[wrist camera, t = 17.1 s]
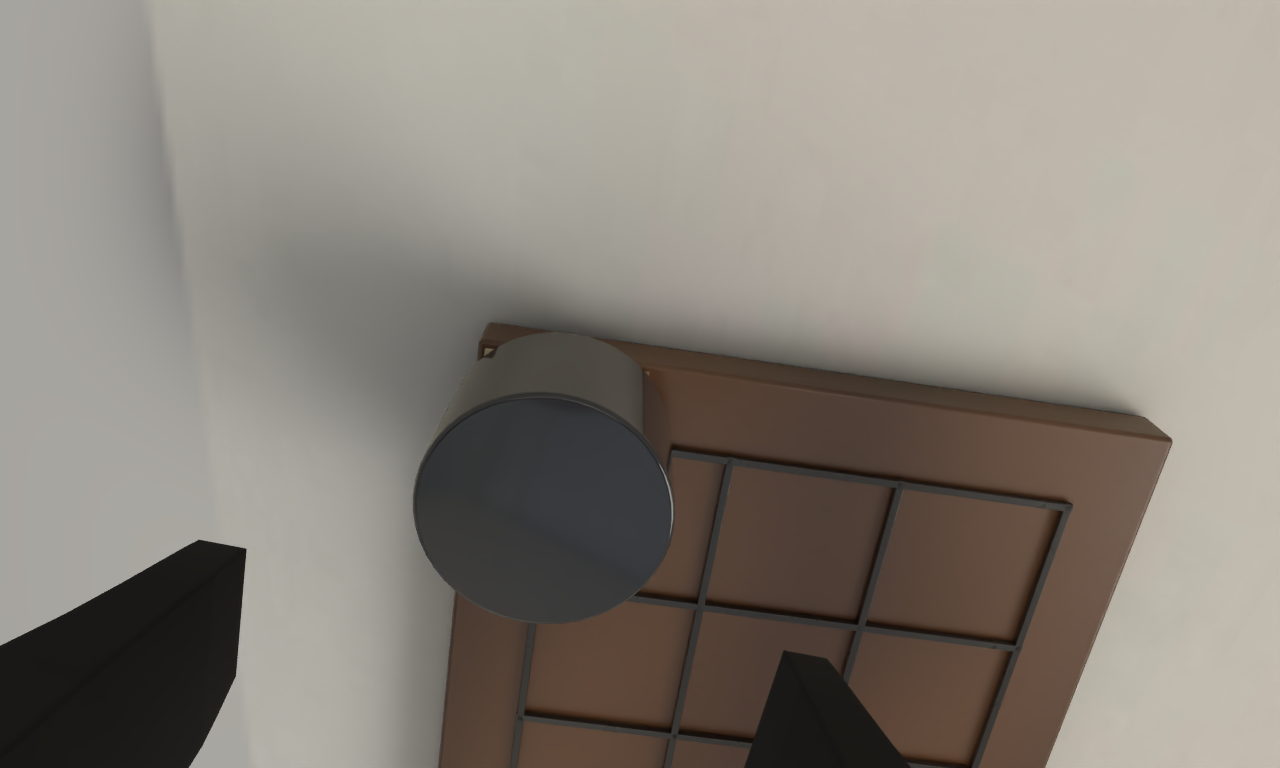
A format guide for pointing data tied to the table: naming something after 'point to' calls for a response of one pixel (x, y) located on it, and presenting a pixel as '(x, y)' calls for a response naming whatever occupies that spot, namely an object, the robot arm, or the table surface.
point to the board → (828, 575)
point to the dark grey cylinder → (549, 481)
